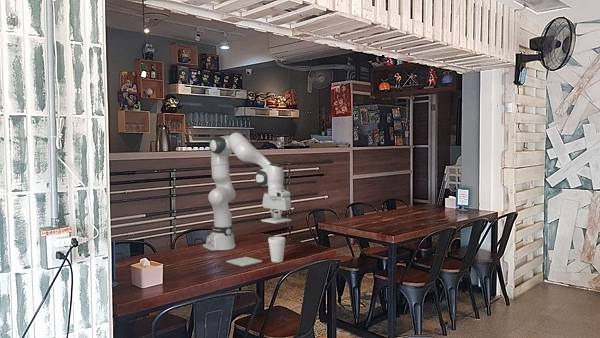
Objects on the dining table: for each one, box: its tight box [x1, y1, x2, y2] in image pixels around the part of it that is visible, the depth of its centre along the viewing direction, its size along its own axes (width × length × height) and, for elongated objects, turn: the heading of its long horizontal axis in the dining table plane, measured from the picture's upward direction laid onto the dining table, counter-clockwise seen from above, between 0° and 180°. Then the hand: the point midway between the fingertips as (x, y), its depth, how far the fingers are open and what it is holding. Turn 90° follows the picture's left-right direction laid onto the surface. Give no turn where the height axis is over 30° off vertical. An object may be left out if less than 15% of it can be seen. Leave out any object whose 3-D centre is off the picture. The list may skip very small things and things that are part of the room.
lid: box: [261, 212, 292, 224], centre depth 276 cm, size 12×12×4 cm
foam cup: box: [267, 236, 286, 263], centre depth 277 cm, size 10×9×13 cm
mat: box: [225, 256, 263, 267], centre depth 276 cm, size 15×14×1 cm
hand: (276, 217), depth 276 cm, fingers closed on lid, 3 cm apart
